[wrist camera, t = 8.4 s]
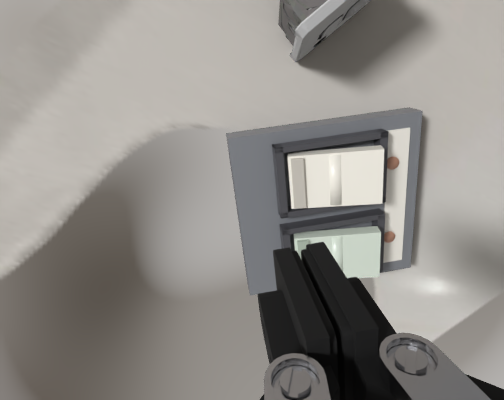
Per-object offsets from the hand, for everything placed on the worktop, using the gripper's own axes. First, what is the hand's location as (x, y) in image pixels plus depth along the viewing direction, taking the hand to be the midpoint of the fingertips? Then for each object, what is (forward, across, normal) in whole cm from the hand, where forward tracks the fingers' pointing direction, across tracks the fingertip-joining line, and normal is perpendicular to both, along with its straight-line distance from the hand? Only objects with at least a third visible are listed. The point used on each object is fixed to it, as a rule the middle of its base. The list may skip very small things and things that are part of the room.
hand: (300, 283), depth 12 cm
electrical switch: (+27, -9, -10) cm, 31 cm away
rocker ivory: (+23, -9, +6) cm, 25 cm away
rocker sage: (+23, -9, +14) cm, 28 cm away
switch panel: (+27, -9, +10) cm, 30 cm away
